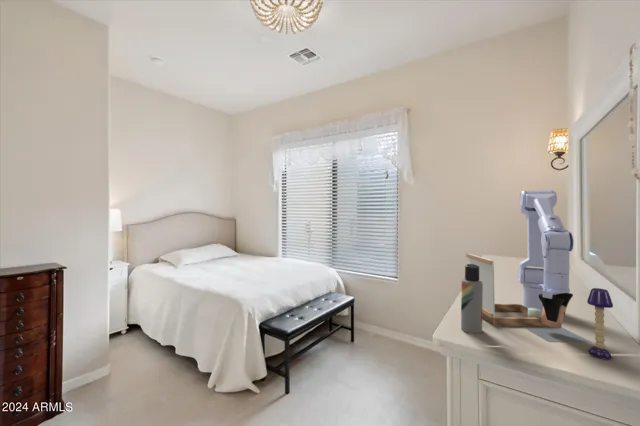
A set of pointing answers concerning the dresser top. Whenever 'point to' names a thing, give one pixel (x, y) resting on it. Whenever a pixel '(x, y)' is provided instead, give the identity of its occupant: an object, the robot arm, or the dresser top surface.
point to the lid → (485, 282)
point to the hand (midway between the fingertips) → (555, 318)
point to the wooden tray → (512, 316)
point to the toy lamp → (599, 320)
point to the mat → (556, 334)
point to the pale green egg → (534, 313)
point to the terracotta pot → (551, 323)
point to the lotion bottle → (471, 300)
